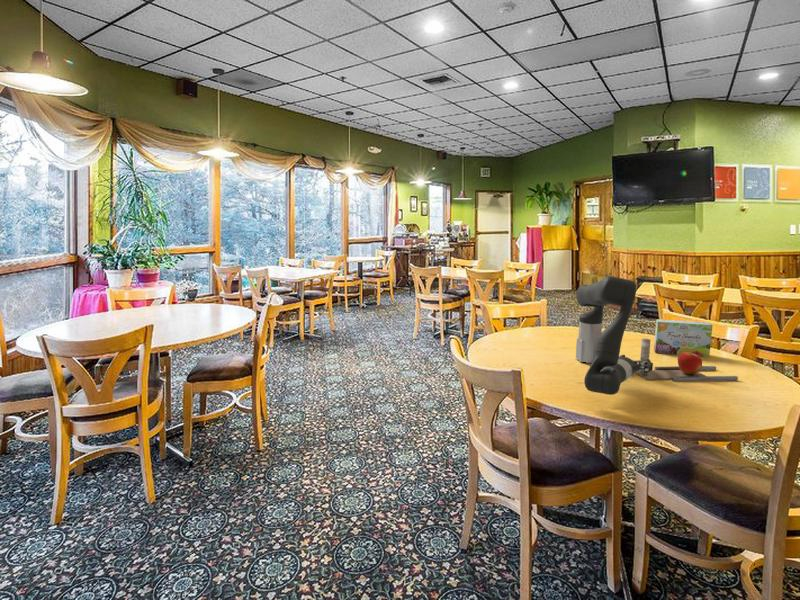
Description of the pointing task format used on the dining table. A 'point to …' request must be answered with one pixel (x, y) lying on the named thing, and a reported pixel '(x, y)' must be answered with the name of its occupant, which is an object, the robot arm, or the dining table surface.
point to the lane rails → (699, 378)
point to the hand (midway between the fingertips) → (635, 359)
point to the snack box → (683, 337)
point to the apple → (689, 363)
